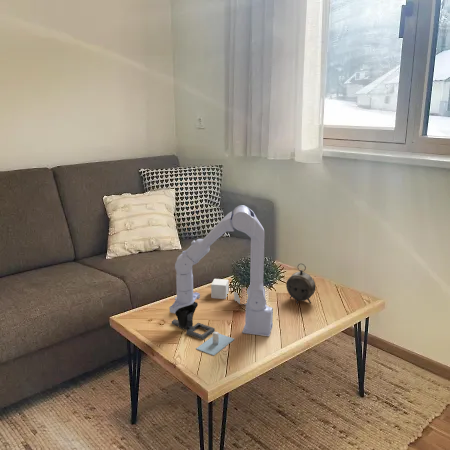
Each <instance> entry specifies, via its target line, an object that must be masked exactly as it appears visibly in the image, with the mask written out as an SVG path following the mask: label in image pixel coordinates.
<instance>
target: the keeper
mask: <svg viewBox="0 0 450 450" xmlns="http://www.w3.org/2000/svg"><path fill="white" fill-rule="evenodd" d="M233 341H235V338H234V337H230V336H227V335H224V334H221V333H219V331H214V332H213V333H212V335H211V336H210V338H209V339H207V340H205V341H204V342H203V343H202V344H200V345H199V346H197V347H196V348H195V349H196V350H197V351H201V352H202V353H206V354H208V355H211V356H216V355H217V354H218V353H220V352H221V351H222V350H224V348H226V347H227V346H229V344H231V343H232V342H233Z"/></svg>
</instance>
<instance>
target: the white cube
mask: <svg viewBox="0 0 450 450" xmlns="http://www.w3.org/2000/svg"><path fill="white" fill-rule="evenodd" d="M229 283H230V282H229V279H227V278H226V279H225V278H214V279H213V281H212V282H211V285H210V291H211V293H210V296H211V299H219V300H220V299H222V300H226V299H227V298H228V295H227V294H229ZM226 297H227V298H226Z"/></svg>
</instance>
